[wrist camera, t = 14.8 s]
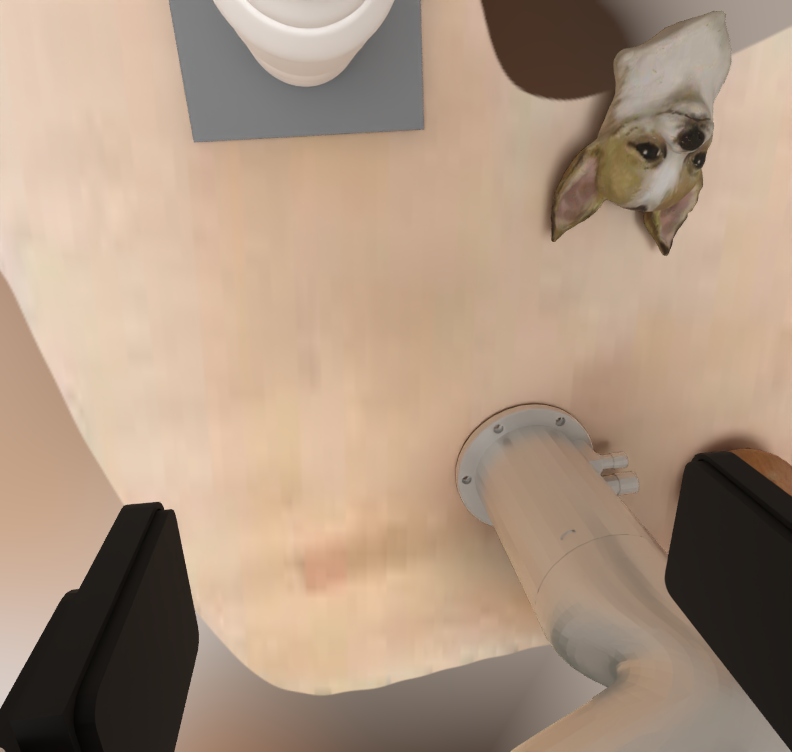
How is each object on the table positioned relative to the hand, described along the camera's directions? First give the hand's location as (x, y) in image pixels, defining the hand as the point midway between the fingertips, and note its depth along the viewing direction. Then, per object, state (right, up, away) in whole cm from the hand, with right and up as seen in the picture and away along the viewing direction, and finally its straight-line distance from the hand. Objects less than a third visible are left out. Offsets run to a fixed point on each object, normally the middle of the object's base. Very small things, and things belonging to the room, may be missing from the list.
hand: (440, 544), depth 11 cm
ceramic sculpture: (+16, +20, +32) cm, 41 cm away
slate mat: (-7, +25, +26) cm, 37 cm away
